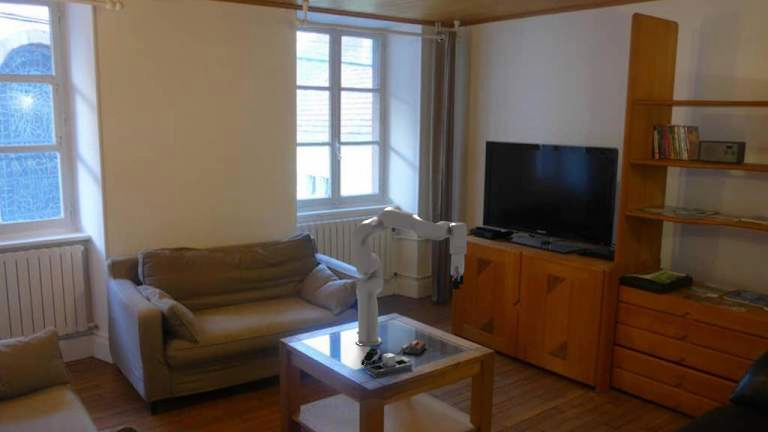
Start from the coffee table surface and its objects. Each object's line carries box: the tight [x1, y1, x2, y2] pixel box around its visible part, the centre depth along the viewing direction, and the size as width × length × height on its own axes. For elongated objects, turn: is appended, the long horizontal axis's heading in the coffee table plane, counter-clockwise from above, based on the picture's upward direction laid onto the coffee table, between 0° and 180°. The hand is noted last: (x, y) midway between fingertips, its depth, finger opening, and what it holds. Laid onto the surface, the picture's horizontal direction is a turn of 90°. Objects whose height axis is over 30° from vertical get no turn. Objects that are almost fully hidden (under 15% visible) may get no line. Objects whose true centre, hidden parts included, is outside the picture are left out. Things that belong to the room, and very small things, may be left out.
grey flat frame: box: [366, 358, 413, 378], centre depth 290 cm, size 18×8×2 cm, turn 122°
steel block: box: [382, 352, 397, 368], centre depth 290 cm, size 4×4×7 cm
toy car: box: [361, 347, 383, 366], centre depth 301 cm, size 6×12×5 cm, turn 164°
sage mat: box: [396, 354, 411, 362], centre depth 303 cm, size 7×7×1 cm
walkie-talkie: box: [396, 339, 426, 356], centre depth 313 cm, size 9×4×20 cm
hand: (458, 286), depth 310 cm, fingers open, 9 cm apart
